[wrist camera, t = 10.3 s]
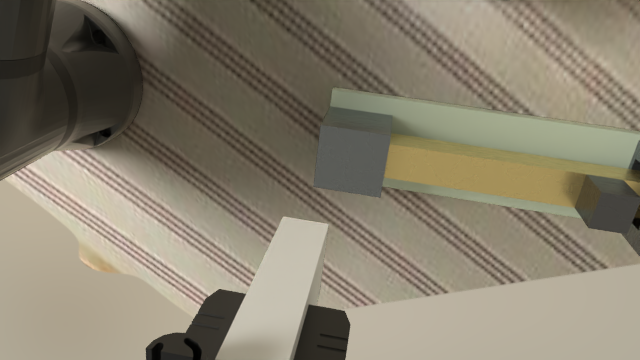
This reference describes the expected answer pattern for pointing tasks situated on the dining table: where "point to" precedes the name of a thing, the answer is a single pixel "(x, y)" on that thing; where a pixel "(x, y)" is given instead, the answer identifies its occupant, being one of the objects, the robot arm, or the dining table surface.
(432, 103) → the base plank
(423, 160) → the sliding bolt
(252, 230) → the dining table surface
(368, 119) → the guide sleeve
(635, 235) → the socket block
